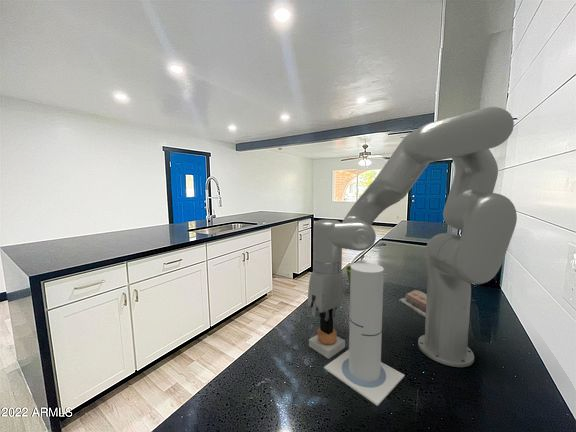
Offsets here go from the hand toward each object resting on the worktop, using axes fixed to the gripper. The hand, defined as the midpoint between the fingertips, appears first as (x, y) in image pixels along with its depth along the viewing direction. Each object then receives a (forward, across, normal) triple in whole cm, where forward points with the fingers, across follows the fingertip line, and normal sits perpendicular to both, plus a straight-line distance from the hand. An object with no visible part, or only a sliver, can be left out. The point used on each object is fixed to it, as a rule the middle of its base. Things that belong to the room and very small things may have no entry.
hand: (326, 331), depth 67 cm
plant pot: (+5, -36, -13) cm, 39 cm away
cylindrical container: (+4, +1, +12) cm, 13 cm away
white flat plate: (+4, +1, +12) cm, 13 cm away
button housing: (+4, 0, 0) cm, 5 cm away
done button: (+2, 0, 0) cm, 2 cm away
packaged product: (+5, -44, +10) cm, 45 cm away
